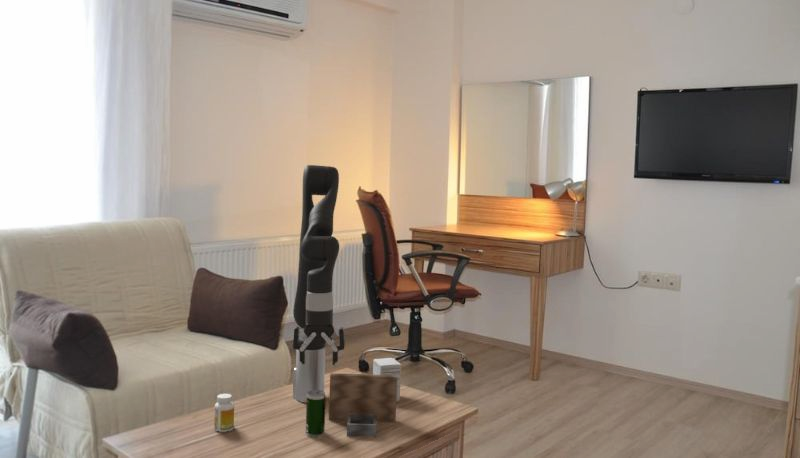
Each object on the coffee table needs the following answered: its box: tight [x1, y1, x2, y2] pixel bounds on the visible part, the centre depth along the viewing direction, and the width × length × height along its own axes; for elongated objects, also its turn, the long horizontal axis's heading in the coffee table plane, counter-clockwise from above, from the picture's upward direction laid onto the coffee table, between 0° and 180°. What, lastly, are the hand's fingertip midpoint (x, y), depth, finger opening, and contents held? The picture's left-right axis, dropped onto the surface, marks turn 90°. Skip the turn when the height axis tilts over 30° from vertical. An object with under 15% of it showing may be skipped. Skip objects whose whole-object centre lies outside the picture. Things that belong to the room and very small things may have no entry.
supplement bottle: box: [213, 393, 235, 433], centre depth 196 cm, size 5×5×10 cm
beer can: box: [305, 390, 326, 438], centre depth 195 cm, size 5×5×12 cm
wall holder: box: [328, 372, 398, 438], centre depth 200 cm, size 20×13×14 cm, turn 92°
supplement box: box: [372, 357, 402, 402], centre depth 225 cm, size 7×7×13 cm
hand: (318, 363), depth 193 cm, fingers open, 8 cm apart
